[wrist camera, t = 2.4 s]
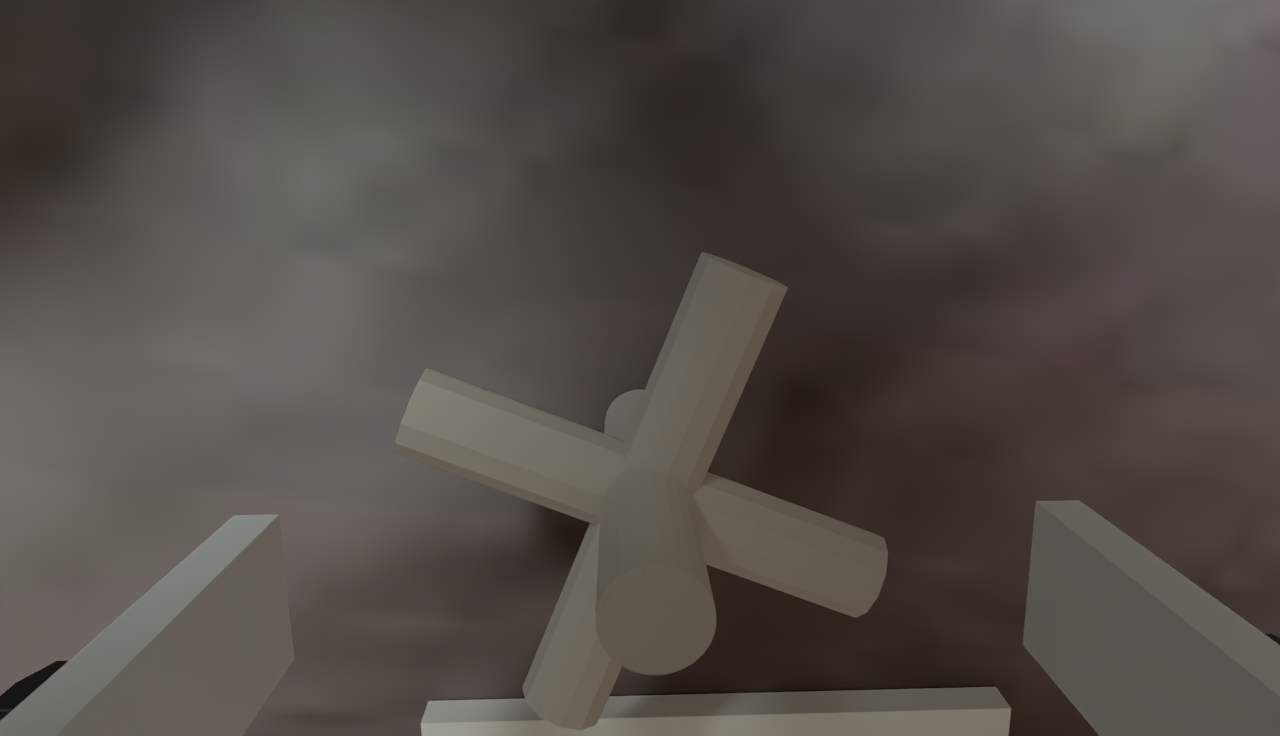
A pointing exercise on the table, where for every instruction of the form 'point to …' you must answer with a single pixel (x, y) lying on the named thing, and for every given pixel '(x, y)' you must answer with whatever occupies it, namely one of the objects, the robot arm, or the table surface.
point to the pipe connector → (648, 500)
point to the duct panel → (746, 715)
